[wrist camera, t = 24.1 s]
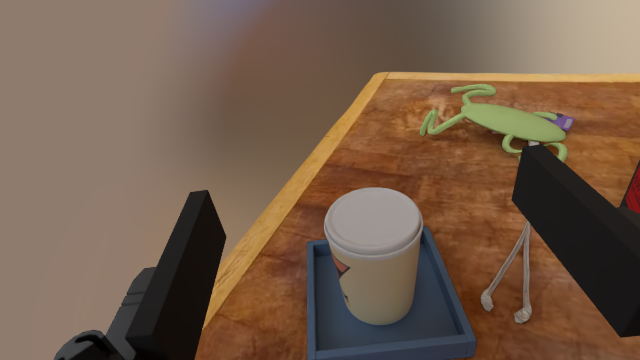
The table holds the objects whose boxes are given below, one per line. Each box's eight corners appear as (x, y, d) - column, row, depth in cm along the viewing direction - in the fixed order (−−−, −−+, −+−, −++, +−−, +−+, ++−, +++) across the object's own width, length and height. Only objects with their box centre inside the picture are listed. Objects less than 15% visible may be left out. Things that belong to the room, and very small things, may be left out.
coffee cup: (340, 263, 45) (328, 187, 38) (416, 263, 43) (417, 183, 36) (333, 331, 37) (316, 251, 30) (425, 334, 35) (429, 250, 29)
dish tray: (311, 374, 34) (307, 360, 33) (310, 255, 47) (306, 241, 46) (474, 356, 33) (477, 340, 32) (427, 241, 46) (428, 225, 45)
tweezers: (528, 327, 35) (532, 314, 34) (477, 308, 37) (479, 295, 36) (549, 227, 47) (552, 215, 46) (509, 218, 49) (512, 206, 48)
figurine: (462, 100, 79) (464, 76, 76) (600, 133, 61) (610, 103, 58) (407, 132, 71) (407, 106, 68) (547, 181, 53) (556, 148, 49)
